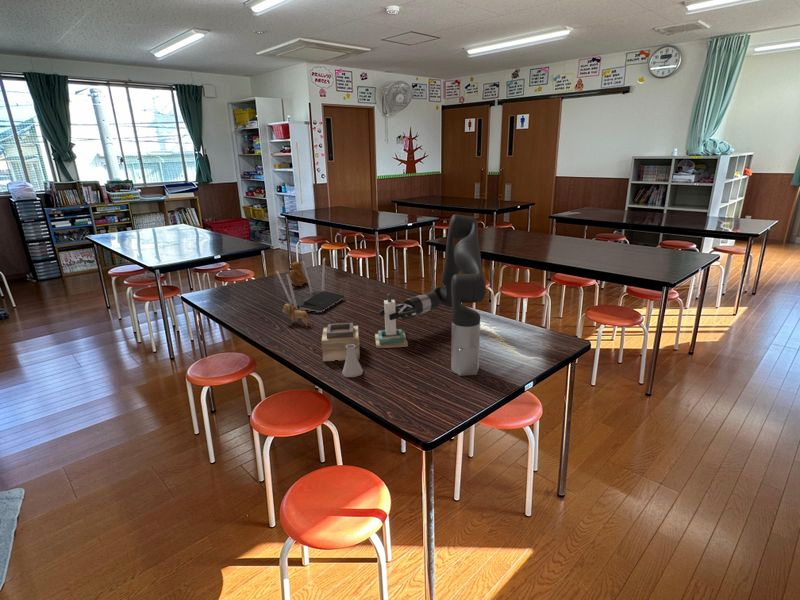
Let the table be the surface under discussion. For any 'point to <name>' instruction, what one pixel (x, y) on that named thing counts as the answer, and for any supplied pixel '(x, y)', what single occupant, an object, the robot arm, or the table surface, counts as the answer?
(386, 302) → the plug
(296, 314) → the lion figurine
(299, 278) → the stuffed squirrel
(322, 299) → the wireless router
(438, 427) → the table surface
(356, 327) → the upper dock
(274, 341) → the table surface
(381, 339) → the lower socket
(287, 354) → the table surface
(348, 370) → the flask
